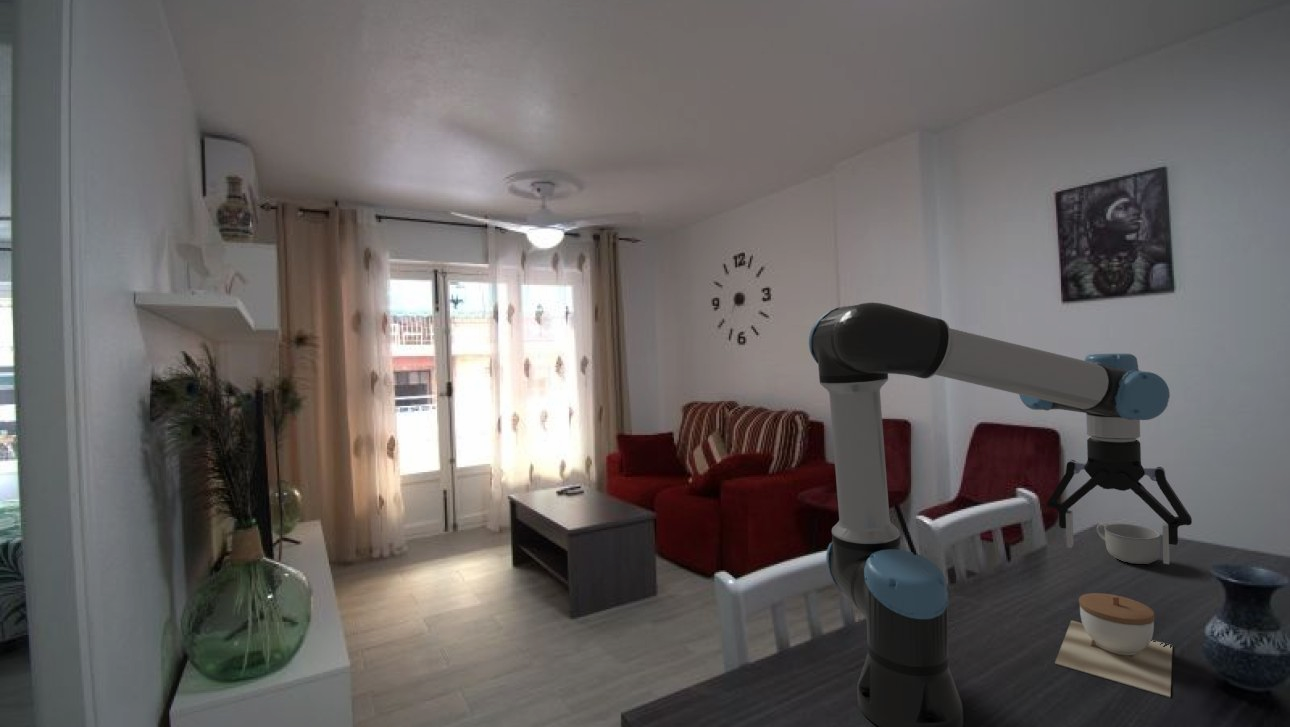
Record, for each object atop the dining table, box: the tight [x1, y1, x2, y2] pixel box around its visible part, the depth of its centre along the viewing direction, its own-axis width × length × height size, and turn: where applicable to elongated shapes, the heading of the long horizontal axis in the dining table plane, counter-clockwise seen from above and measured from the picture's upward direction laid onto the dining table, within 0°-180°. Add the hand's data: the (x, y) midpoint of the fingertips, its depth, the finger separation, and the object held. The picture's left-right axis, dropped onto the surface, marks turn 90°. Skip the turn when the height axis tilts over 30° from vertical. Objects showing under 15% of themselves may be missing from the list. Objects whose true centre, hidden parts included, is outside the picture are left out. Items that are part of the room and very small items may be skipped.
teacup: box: [1096, 522, 1161, 565], centre depth 145 cm, size 14×11×8 cm
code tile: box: [1054, 620, 1173, 698], centre depth 102 cm, size 20×15×1 cm
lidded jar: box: [1078, 592, 1156, 656], centre depth 104 cm, size 11×11×9 cm
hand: (1116, 553), depth 104 cm, fingers open, 13 cm apart
